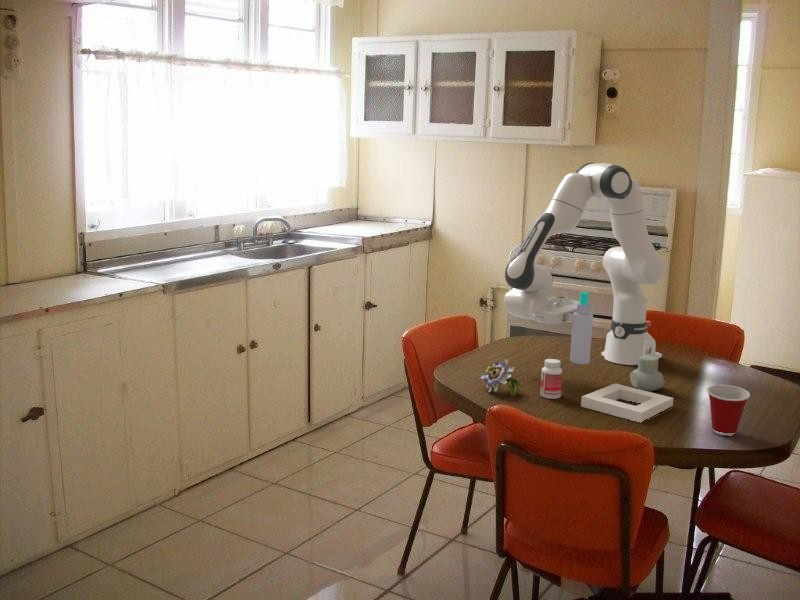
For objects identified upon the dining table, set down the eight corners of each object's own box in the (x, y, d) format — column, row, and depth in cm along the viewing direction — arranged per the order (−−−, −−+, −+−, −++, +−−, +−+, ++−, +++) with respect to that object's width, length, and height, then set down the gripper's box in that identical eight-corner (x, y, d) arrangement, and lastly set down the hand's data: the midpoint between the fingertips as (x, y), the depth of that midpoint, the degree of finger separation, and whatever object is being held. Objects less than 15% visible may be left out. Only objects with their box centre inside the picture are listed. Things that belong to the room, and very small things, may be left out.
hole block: (614, 392, 267) (615, 383, 266) (672, 407, 254) (673, 397, 253) (580, 406, 253) (581, 396, 253) (640, 422, 240) (641, 412, 240)
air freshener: (665, 394, 267) (668, 362, 265) (638, 394, 266) (641, 362, 264) (652, 383, 278) (655, 353, 276) (627, 383, 277) (629, 352, 275)
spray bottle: (581, 365, 267) (586, 295, 263) (565, 361, 272) (570, 292, 267) (593, 362, 271) (598, 293, 267) (577, 358, 276) (582, 289, 271)
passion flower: (490, 409, 265) (471, 374, 267) (514, 396, 271) (495, 362, 273) (511, 398, 256) (491, 362, 258) (535, 385, 262) (516, 350, 264)
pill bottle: (565, 397, 261) (567, 361, 259) (550, 400, 258) (552, 364, 255) (550, 391, 266) (553, 356, 264) (535, 394, 263) (537, 359, 261)
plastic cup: (701, 436, 231) (706, 393, 229) (703, 423, 241) (707, 382, 239) (745, 443, 227) (750, 399, 225) (745, 429, 237) (750, 387, 235)
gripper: (530, 305, 269) (569, 312, 260) (567, 295, 284) (604, 302, 275) (529, 324, 271) (567, 333, 262) (565, 314, 285) (603, 322, 276)
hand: (586, 317), depth 268 cm, fingers closed on spray bottle, 4 cm apart
